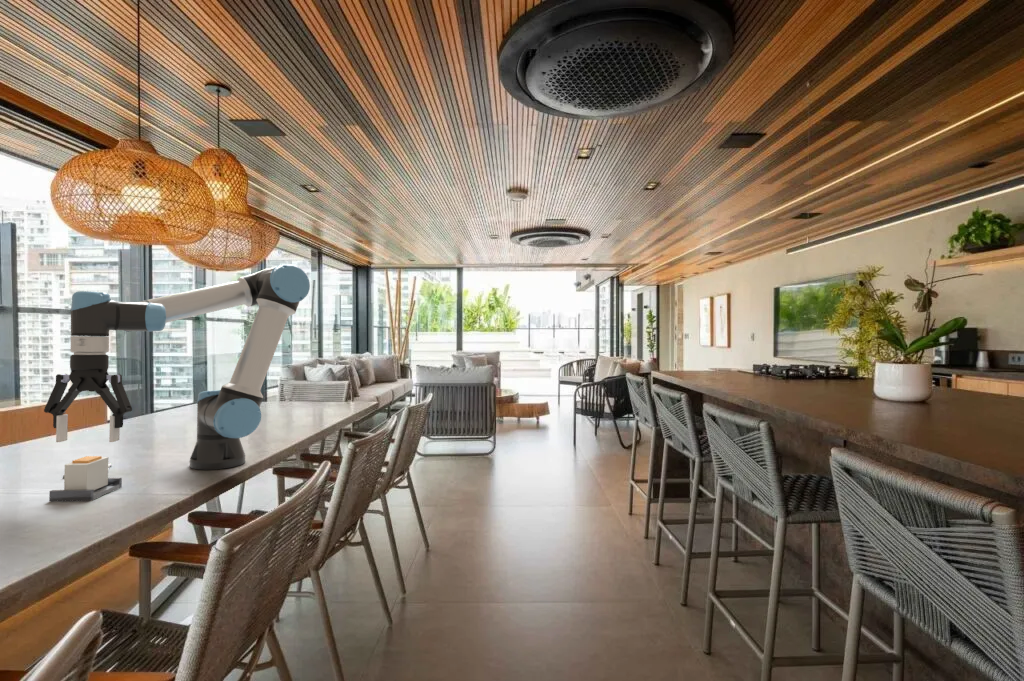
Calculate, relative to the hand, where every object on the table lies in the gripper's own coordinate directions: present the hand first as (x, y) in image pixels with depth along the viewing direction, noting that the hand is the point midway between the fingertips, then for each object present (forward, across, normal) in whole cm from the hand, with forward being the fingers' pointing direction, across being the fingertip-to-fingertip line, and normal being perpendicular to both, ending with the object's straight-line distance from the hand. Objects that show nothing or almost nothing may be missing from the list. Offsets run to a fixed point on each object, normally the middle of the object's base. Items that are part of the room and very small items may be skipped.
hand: (88, 441), depth 132 cm
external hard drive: (+14, -14, +23) cm, 30 cm away
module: (+12, 0, 0) cm, 12 cm away
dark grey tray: (+13, 0, 0) cm, 13 cm away
